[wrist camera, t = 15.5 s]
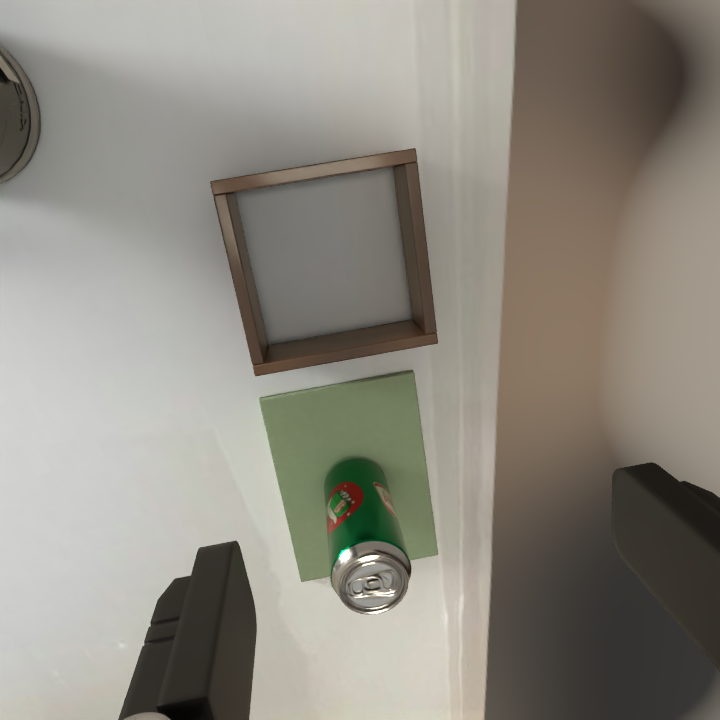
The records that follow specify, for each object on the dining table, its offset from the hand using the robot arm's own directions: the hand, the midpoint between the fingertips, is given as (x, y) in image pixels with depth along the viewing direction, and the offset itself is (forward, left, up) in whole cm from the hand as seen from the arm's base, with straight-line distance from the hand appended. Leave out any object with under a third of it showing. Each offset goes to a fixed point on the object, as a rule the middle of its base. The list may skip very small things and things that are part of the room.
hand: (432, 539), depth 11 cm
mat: (-1, -16, -30) cm, 34 cm away
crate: (0, +2, -30) cm, 30 cm away
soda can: (-1, -16, -29) cm, 33 cm away
